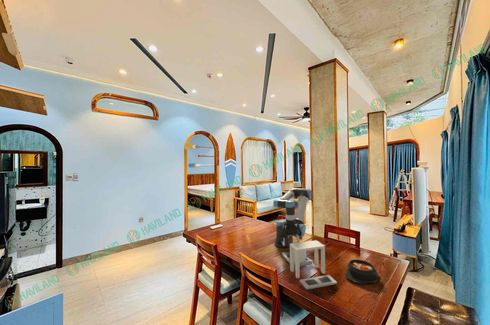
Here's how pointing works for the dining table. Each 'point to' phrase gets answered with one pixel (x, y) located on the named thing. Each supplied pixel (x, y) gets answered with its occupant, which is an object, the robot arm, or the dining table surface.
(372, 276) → the casserole
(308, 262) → the picture frame
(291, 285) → the dining table surface
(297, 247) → the open rectangular frame
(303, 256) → the jar
